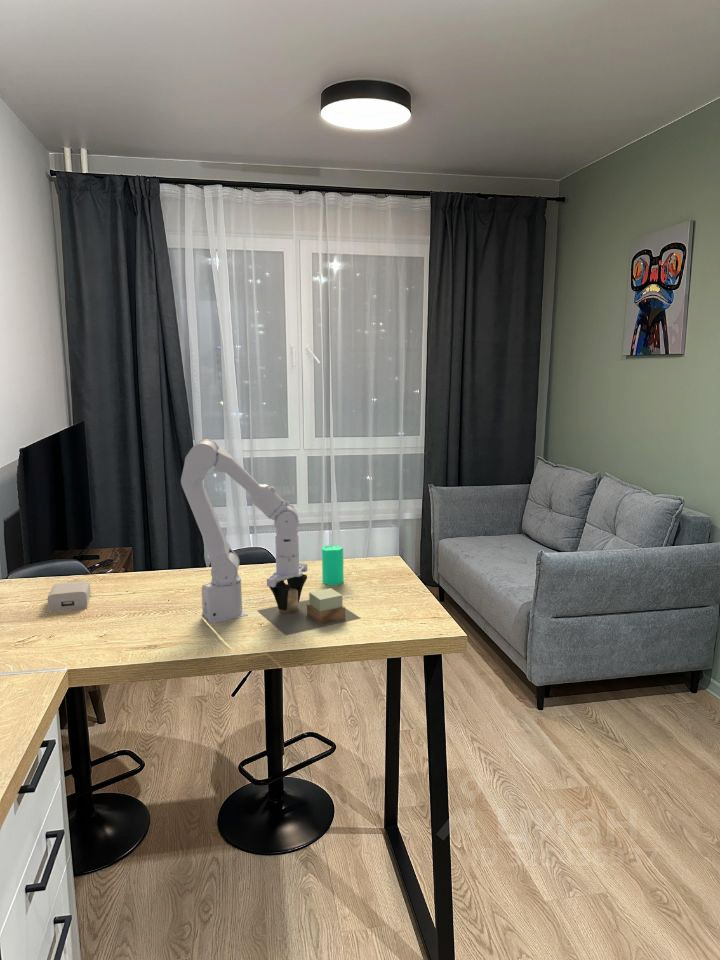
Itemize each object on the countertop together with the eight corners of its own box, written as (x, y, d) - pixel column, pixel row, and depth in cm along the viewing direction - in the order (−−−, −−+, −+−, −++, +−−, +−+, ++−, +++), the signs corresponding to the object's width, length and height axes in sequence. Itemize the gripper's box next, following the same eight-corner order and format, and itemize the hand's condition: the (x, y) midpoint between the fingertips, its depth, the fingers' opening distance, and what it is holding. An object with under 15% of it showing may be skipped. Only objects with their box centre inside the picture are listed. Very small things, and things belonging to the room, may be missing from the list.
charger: (93, 589, 186) (87, 608, 172) (57, 593, 184) (48, 612, 170) (91, 573, 185) (86, 591, 171) (55, 576, 183) (47, 594, 169)
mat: (285, 637, 153) (285, 635, 153) (256, 612, 168) (256, 610, 168) (360, 620, 163) (360, 618, 163) (327, 597, 178) (327, 596, 178)
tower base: (319, 624, 159) (319, 612, 158) (307, 615, 165) (306, 603, 164) (345, 618, 162) (345, 607, 162) (332, 609, 168) (331, 598, 168)
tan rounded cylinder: (283, 615, 165) (283, 595, 164) (276, 608, 169) (275, 590, 168) (301, 611, 167) (300, 592, 166) (293, 605, 171) (293, 586, 170)
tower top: (320, 611, 159) (320, 599, 158) (309, 603, 164) (309, 592, 163) (342, 607, 162) (342, 595, 161) (331, 599, 167) (330, 588, 166)
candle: (343, 586, 187) (342, 545, 185) (321, 586, 187) (321, 545, 185) (343, 579, 193) (343, 539, 191) (323, 579, 193) (322, 539, 191)
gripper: (282, 564, 157) (284, 618, 160) (316, 549, 170) (317, 599, 172) (259, 559, 161) (261, 613, 163) (294, 545, 173) (295, 595, 176)
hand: (288, 605), depth 168 cm, fingers closed on tan rounded cylinder, 5 cm apart
